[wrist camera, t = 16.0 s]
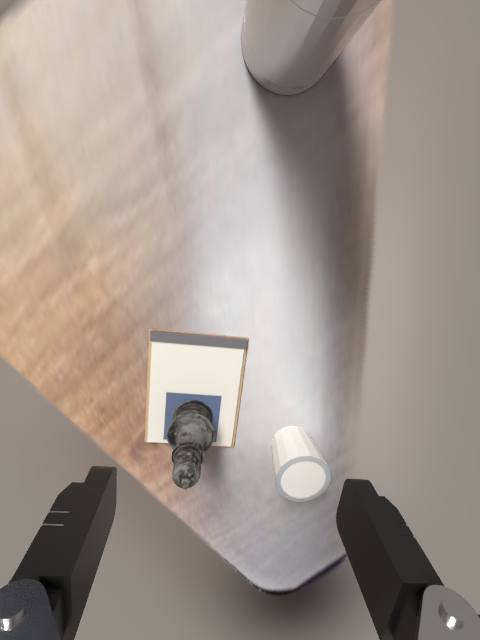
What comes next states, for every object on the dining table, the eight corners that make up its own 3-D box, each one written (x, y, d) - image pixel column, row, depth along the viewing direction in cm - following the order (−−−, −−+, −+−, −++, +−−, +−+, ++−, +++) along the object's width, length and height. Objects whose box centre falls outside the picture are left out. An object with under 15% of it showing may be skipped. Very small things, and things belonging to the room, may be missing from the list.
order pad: (149, 328, 41) (148, 331, 40) (248, 337, 42) (248, 340, 41) (145, 440, 45) (143, 445, 45) (233, 445, 47) (233, 450, 46)
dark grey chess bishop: (224, 419, 44) (227, 489, 33) (190, 444, 45) (182, 522, 34) (194, 389, 43) (186, 452, 31) (160, 416, 44) (140, 488, 32)
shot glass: (308, 465, 49) (322, 505, 42) (261, 460, 48) (269, 499, 41) (320, 425, 47) (338, 460, 40) (273, 418, 46) (282, 453, 39)
